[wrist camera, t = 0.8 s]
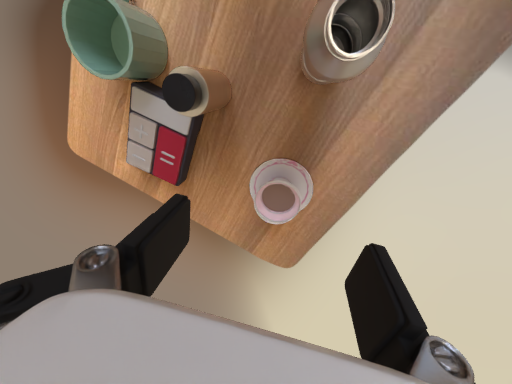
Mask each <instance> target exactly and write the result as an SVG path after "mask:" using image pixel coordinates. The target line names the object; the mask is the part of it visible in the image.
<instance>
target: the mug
mask: <svg viewBox="0 0 512 384" xmlns="http://www.w3.org/2000/svg"><path fill="white" fill-rule="evenodd" d="M62 26H63V30H64V34H65V37H66V41H67V43H68V45H69V47H70V49H71V51H72V53H73V55H74V56H75V57H76V59H77V60H78V61H79V62H80V64H81V65H82V66H83V67H84V68H85V69H87V70H88V71H89V72H90V73H91V74H93V75H95V76H97V77H99V78H102V79H108V80H142V81H145V80H152V79H155V78H157V77H158V76H159V75H160V74H161V73H162V72H163V70H164V68H165V66H166V63H167V58H168V48H167V42H166V38H165V35H164V33H163V31H162V29H161V27H160V25H159V24H158V22H157V21H156V20H155V19H154V18H153V17H152V16H151V15H150V14H149V13H148V12H146V11H144V10H142V9H140V8H138V7H136V6H134V5H132V4H130V3H129V0H64V4H63V8H62Z"/></svg>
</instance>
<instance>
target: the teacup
mask: <svg viewBox="0 0 512 384" xmlns="http://www.w3.org/2000/svg"><path fill="white" fill-rule="evenodd" d="M249 187H250V194H251V196H252V198H253V200H254V207H255V210H256V212H257V214H258V215H259V217H260V218H261V219H263V220H264V221H266V223H267V222H268V223H271V224H283V223H286V222H288V221H290V220H292V219H293V218H294V217H295V216H296V215H297V214H298V212H299V211H301V210H303V209H304V208H305V207H306V206H307V204H308V203H309V202H310V200H311V197H312V195H313V182H312V179H311V176H310V174H309V173H308V171H307V170H306V169H305V168H304V167H303V166H302V165H300V164H299V163H297V162H296V161H293V160H289V159H285V158H278V159H272V160H269V161H266V162H264V163H262V164H261V165H260V166H259V167H257V168H256V170H255V171H254V173H253V174H252V176H251V180H250V184H249Z"/></svg>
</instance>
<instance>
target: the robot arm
mask: <svg viewBox="0 0 512 384" xmlns="http://www.w3.org/2000/svg"><path fill="white" fill-rule="evenodd" d="M189 231H190V200H189V199H188V197H187V196H184V195H180V194H175V195H174V196H173V197H172V198H170V199H169V200H168V201H167V202H166V203H165V204H164V205H163V206H162V207H160V208H159V209H158V210H157V211H156V212H155V213H153V214H151V215H150V216H149V217H148V218H147V219H145V220H144V221H143V222H142V223H141V224H140V225H139V226H138V227H136V228H135V229H134V230H133V231H132V232H131V233H130V234H129V235H127V236H126V237H125V238H124V239H123V240H122V241H121V242H120V243H118V244H117V245H116V246H115V247H114V246H112V245H105V244H104V245H97V246H94V247H91V248H88V249H86V250H84V251H83V252H81V253H80V254H79V255H78V256H77V257H76V258H75V261H74V263H73V264H70V265H66V266H63V267H59V268H55V269H51V270H48V271H44V272H41V273H37V274H32V275H29V276H25V277H21V278H18V279H14V280H11V281H7V282H5V283H2V284H0V384H475V383H474V373H473V370H472V368H471V366H470V364H469V363H468V361H467V360H466V358H465V357H464V356H463V355H462V354H461V353H460V352H459V351H458V350H457V349H456V348H455V347H454V346H453V345H451V344H450V343H448V342H447V341H445V340H444V339H441V338H439V337H437V336H429V334H428V332H427V330H426V329H427V326H426V324H425V322H424V321H423V319H422V317H421V315H420V313H419V311H418V309H417V307H416V305H415V304H414V302H413V300H412V298H411V296H410V294H409V292H408V290H407V288H406V286H405V284H404V283H403V281H402V279H401V277H400V275H399V273H398V271H397V269H396V267H395V265H394V264H393V262H392V260H391V258H390V256H389V254H388V252H387V250H386V248H385V247H383V246H380V245H377V244H373V243H371V244H369V245H366V246H365V247H364V249H363V251H362V252H361V254H360V256H359V258H358V259H357V261H356V263H355V265H354V266H353V268H352V270H351V272H350V273H349V275H348V277H347V278H346V280H345V290H346V294H347V298H348V303H349V307H350V312H351V316H352V321H353V325H354V329H355V334H356V338H357V343H358V347H359V351H360V355H361V358H362V359H360V358H357V357H353V356H350V355H347V354H344V353H341V352H337V351H334V350H331V349H327V348H324V347H321V346H317V345H314V344H311V343H307V342H304V341H301V340H297V339H294V338H290V337H287V336H284V335H281V334H277V333H274V332H270V331H267V330H263V329H260V328H257V327H253V326H250V325H246V324H243V323H240V322H236V321H233V320H230V319H226V318H223V317H219V316H216V315H212V314H209V313H205V312H202V311H198V310H195V309H192V308H188V307H184V306H181V305H177V304H174V303H170V302H167V301H163V300H159V299H155V298H151V297H150V296H151V295H152V294H153V293H154V291H155V290H156V288H157V287H158V285H159V284H160V282H161V281H162V280H163V278H164V277H165V275H166V274H167V272H168V271H169V269H170V268H171V267H172V265H173V264H174V262H175V261H176V259H177V258H178V256H179V255H180V254H181V252H182V251H183V249H184V248H185V246H186V245H187V243H188V241H189Z"/></svg>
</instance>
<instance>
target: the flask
mask: <svg viewBox="0 0 512 384" xmlns="http://www.w3.org/2000/svg"><path fill="white" fill-rule="evenodd" d="M162 94H163V97H164V100H165V101H166V103H167V104H168V106H169V107H171V108H172V109H173V110H175V111H177V112H178V113H179V114H181V115H183V116H187V117H195V116H198V115H201V114H205V113H208V112H211V111H214V110H217V109H220V108H223V107H225V106H226V105H227V104H228V103H229V101H230V99H231V95H232V88H231V84H230V82H229V80H228V78H227V77H226V76H225V75H224V74H223V73H221V72H219V71H215V70H208V69H202V68H196V67H189V66H179V67H176V68H174V69H173V70H172V71H171V72H170V73H169V75H168V76H167V77H166V78H165V80H164V82H163V85H162Z"/></svg>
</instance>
